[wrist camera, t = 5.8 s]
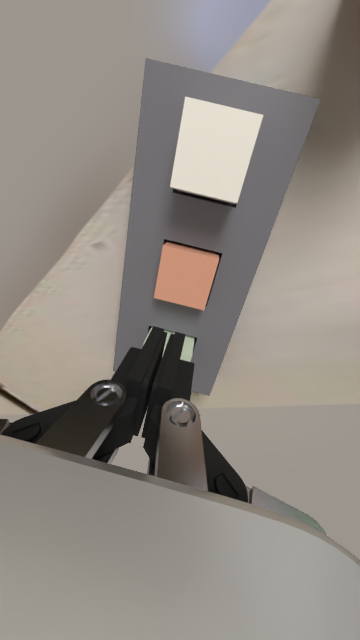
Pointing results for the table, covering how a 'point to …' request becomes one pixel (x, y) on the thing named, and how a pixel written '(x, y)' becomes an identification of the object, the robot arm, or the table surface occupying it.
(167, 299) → the terracotta key
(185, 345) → the sage key
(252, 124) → the cream key
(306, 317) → the table surface
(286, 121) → the key console
